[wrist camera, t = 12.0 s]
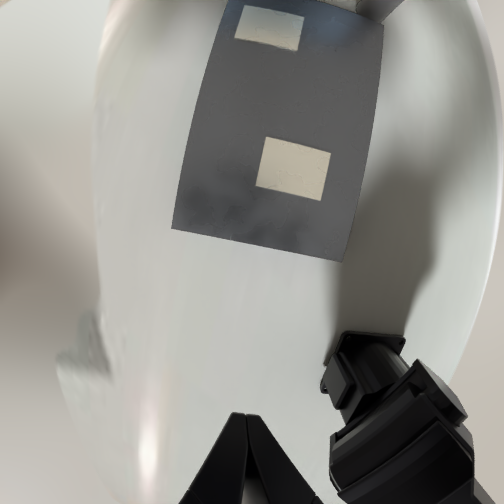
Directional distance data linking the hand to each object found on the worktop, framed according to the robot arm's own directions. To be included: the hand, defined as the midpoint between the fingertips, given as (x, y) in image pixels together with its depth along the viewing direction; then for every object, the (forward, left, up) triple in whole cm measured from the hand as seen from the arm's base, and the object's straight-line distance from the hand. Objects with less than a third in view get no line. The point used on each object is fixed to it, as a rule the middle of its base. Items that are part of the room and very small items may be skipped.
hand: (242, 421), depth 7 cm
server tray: (-1, -12, -13) cm, 18 cm away
